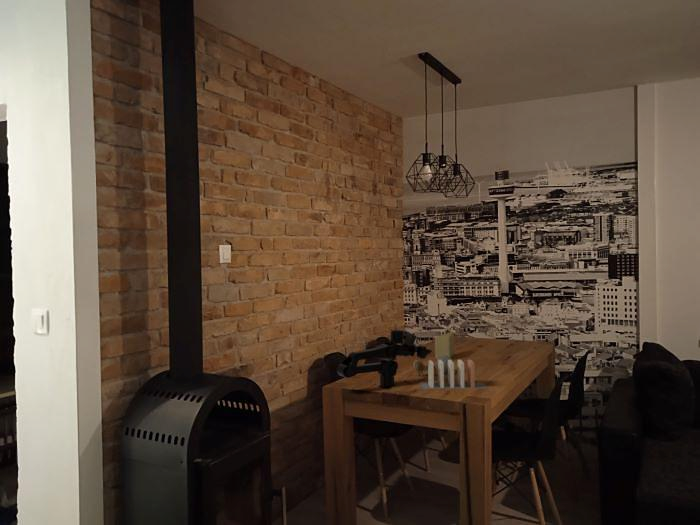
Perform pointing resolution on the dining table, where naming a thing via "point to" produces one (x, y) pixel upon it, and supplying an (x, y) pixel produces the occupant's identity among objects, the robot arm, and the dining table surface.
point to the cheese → (444, 345)
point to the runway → (456, 386)
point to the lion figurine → (421, 367)
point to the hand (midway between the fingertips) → (426, 349)
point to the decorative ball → (445, 361)
